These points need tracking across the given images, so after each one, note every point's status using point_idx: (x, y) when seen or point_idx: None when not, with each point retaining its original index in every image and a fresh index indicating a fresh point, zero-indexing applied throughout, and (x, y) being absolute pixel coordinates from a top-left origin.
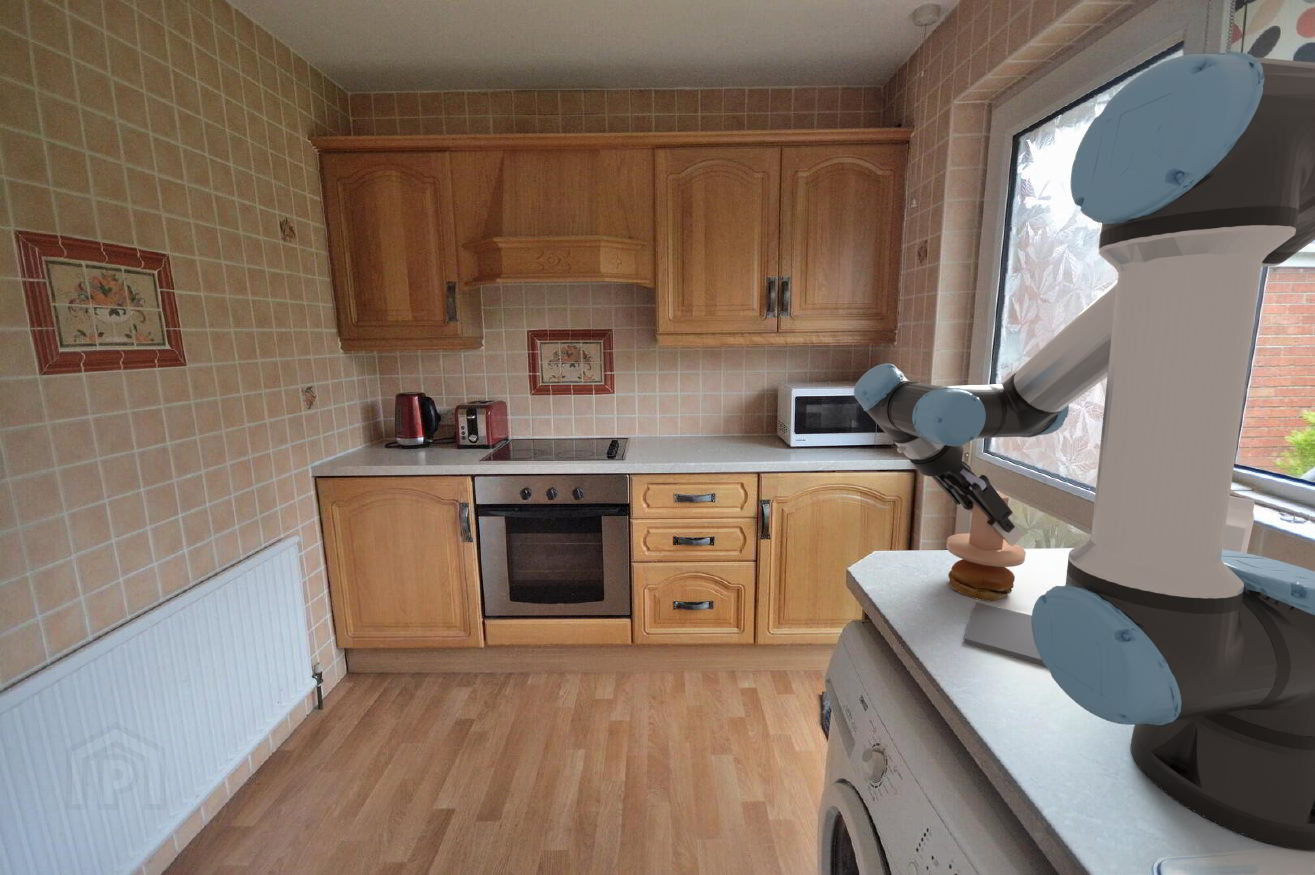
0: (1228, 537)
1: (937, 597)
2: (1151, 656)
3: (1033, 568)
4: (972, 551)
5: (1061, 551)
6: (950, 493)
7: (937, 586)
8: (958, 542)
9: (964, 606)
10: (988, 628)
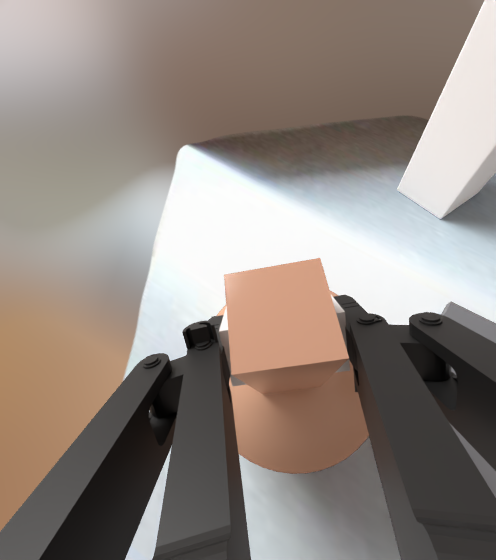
0: None
1: (336, 512)
2: None
3: (222, 247)
4: (328, 426)
5: (178, 187)
6: (156, 480)
7: (280, 472)
8: (259, 426)
9: (375, 467)
10: None
